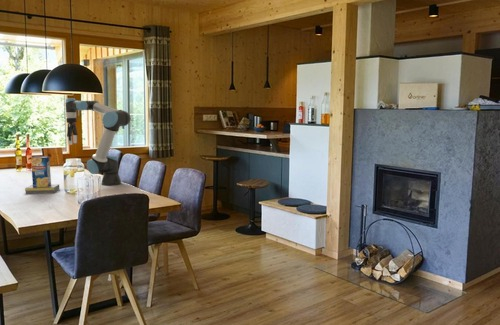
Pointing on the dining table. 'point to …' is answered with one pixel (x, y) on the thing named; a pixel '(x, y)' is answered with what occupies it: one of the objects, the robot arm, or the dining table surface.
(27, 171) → the dining table surface
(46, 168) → the beverage box
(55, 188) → the panel
